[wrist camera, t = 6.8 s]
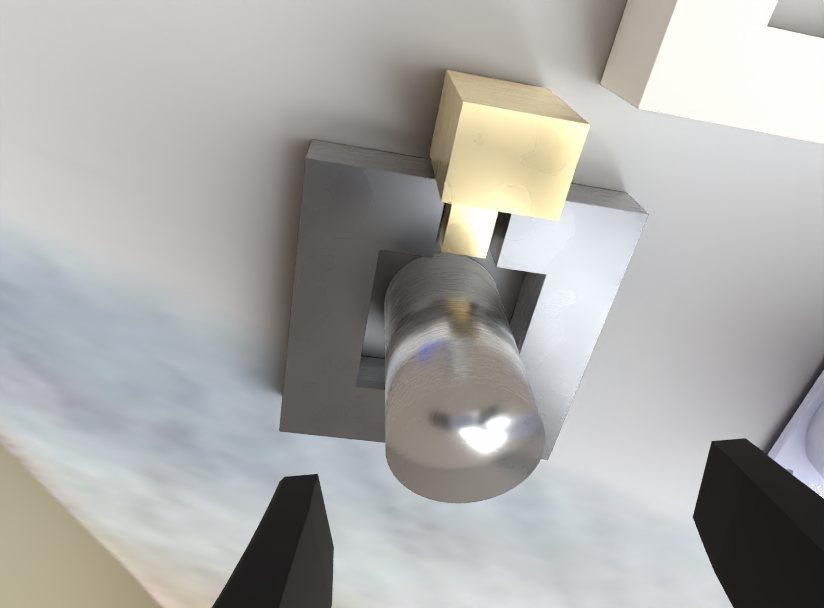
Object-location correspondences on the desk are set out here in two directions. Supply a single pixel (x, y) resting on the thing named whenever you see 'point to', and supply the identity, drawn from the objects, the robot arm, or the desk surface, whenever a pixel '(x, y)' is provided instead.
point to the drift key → (500, 156)
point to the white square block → (719, 66)
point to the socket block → (416, 234)
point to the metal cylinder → (455, 385)
